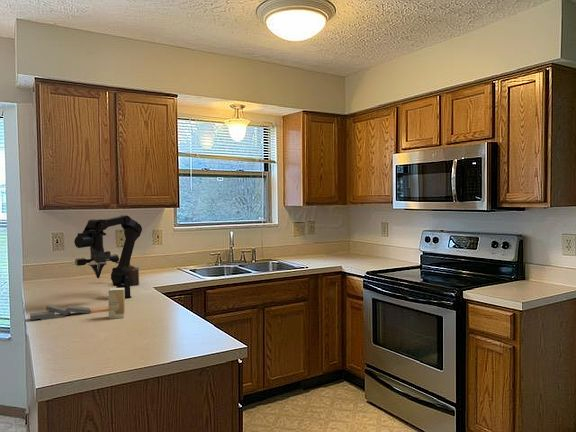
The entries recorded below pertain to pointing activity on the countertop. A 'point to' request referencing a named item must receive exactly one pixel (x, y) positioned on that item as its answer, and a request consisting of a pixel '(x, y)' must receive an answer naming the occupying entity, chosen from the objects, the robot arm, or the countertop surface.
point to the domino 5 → (99, 309)
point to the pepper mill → (133, 273)
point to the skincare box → (116, 303)
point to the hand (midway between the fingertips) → (98, 278)
